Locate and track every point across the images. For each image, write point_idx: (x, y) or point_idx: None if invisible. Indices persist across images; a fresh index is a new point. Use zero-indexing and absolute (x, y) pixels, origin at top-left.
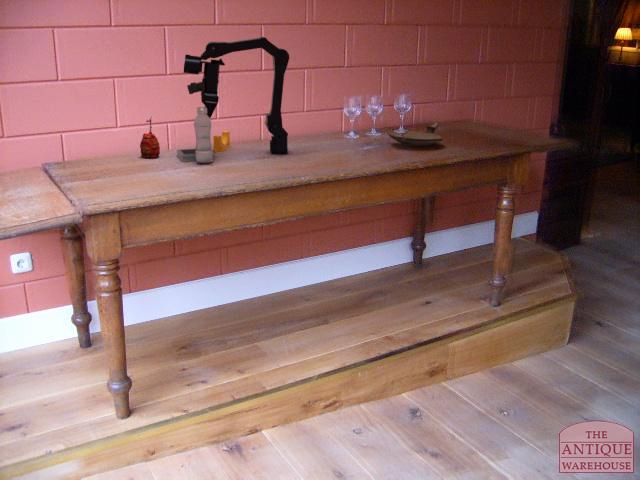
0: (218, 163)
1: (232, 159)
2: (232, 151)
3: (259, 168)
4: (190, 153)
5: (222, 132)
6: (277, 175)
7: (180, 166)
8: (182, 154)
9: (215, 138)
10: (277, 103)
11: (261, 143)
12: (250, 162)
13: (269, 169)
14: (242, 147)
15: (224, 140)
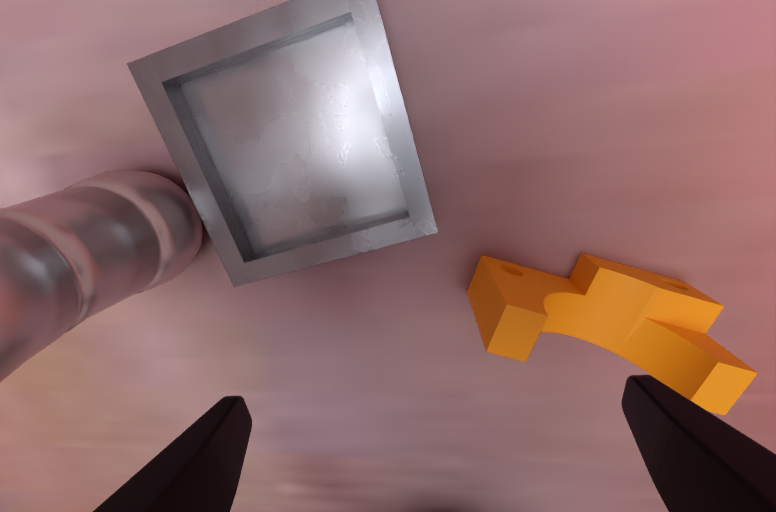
0: (168, 294)
1: (277, 358)
2: (496, 356)
3: (108, 459)
4: (374, 102)
5: (712, 364)
6: (12, 506)
7: (32, 74)
8: (176, 59)
9: (496, 311)
10: None
11: None
12: None
13: (101, 489)
14: (610, 404)
15: (635, 341)
